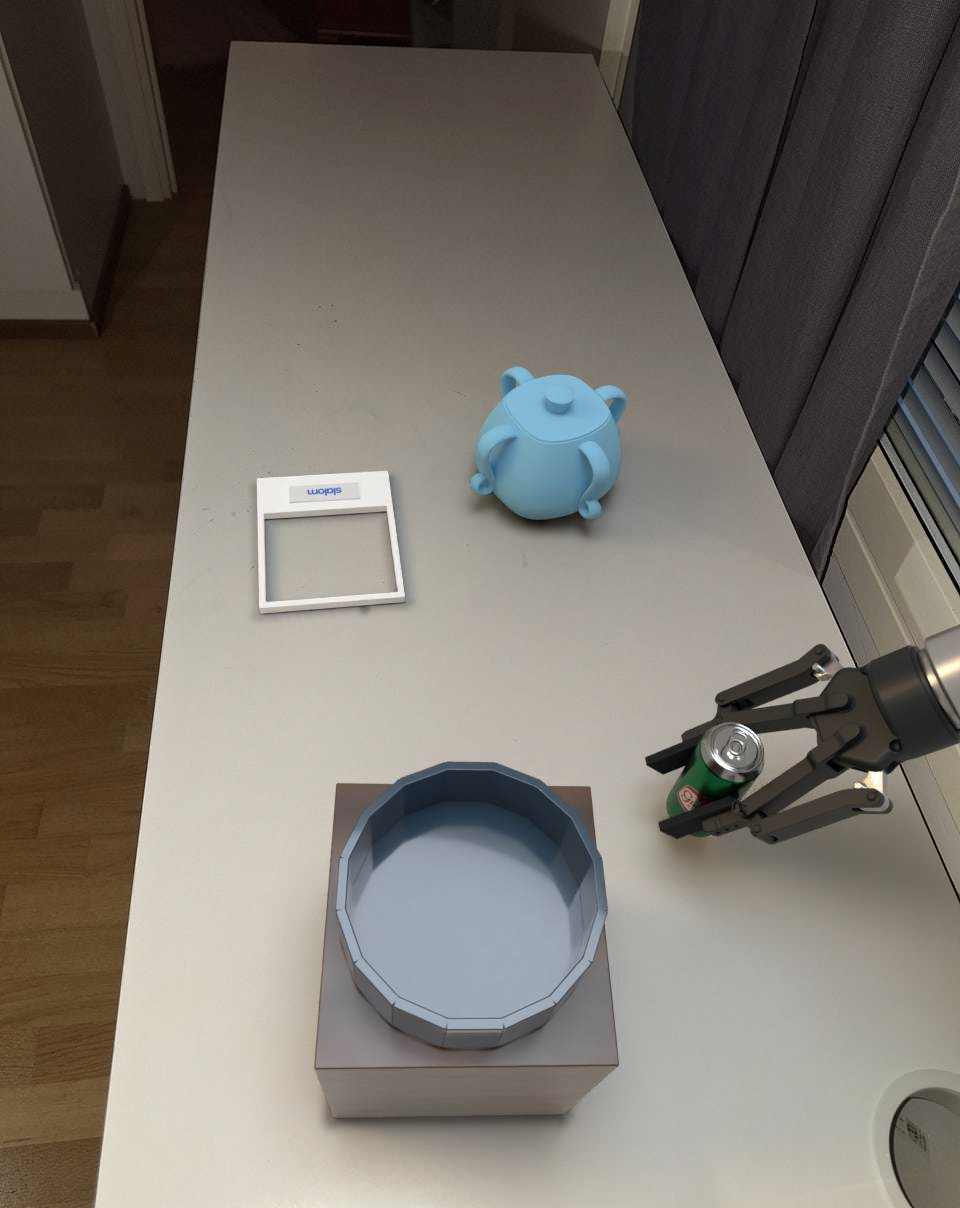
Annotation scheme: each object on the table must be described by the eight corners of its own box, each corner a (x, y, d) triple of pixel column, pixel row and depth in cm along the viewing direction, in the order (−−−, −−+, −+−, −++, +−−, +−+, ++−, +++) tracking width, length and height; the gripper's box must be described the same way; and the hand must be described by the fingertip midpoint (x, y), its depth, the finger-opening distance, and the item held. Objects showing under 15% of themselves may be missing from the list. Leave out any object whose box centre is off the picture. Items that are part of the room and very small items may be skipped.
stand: (564, 1114, 67) (619, 1065, 51) (333, 1117, 65) (313, 1069, 49) (549, 886, 77) (590, 785, 61) (348, 885, 75) (336, 782, 59)
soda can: (656, 823, 77) (694, 759, 67) (674, 775, 80) (713, 707, 70) (713, 850, 76) (759, 788, 66) (729, 800, 79) (776, 734, 69)
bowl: (602, 1048, 51) (620, 1028, 47) (331, 1051, 50) (326, 1031, 46) (578, 798, 60) (592, 763, 56) (348, 795, 59) (345, 759, 55)
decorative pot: (589, 554, 99) (614, 466, 88) (453, 509, 101) (461, 418, 90) (626, 459, 109) (653, 368, 98) (500, 419, 111) (513, 326, 100)
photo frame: (387, 469, 103) (404, 595, 92) (387, 476, 103) (404, 601, 93) (256, 477, 100) (258, 607, 90) (257, 484, 101) (260, 613, 91)
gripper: (1011, 824, 61) (707, 915, 72) (914, 608, 71) (662, 717, 83) (979, 793, 56) (658, 896, 67) (880, 566, 67) (617, 688, 78)
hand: (661, 797), depth 75 cm, fingers closed on soda can, 5 cm apart
